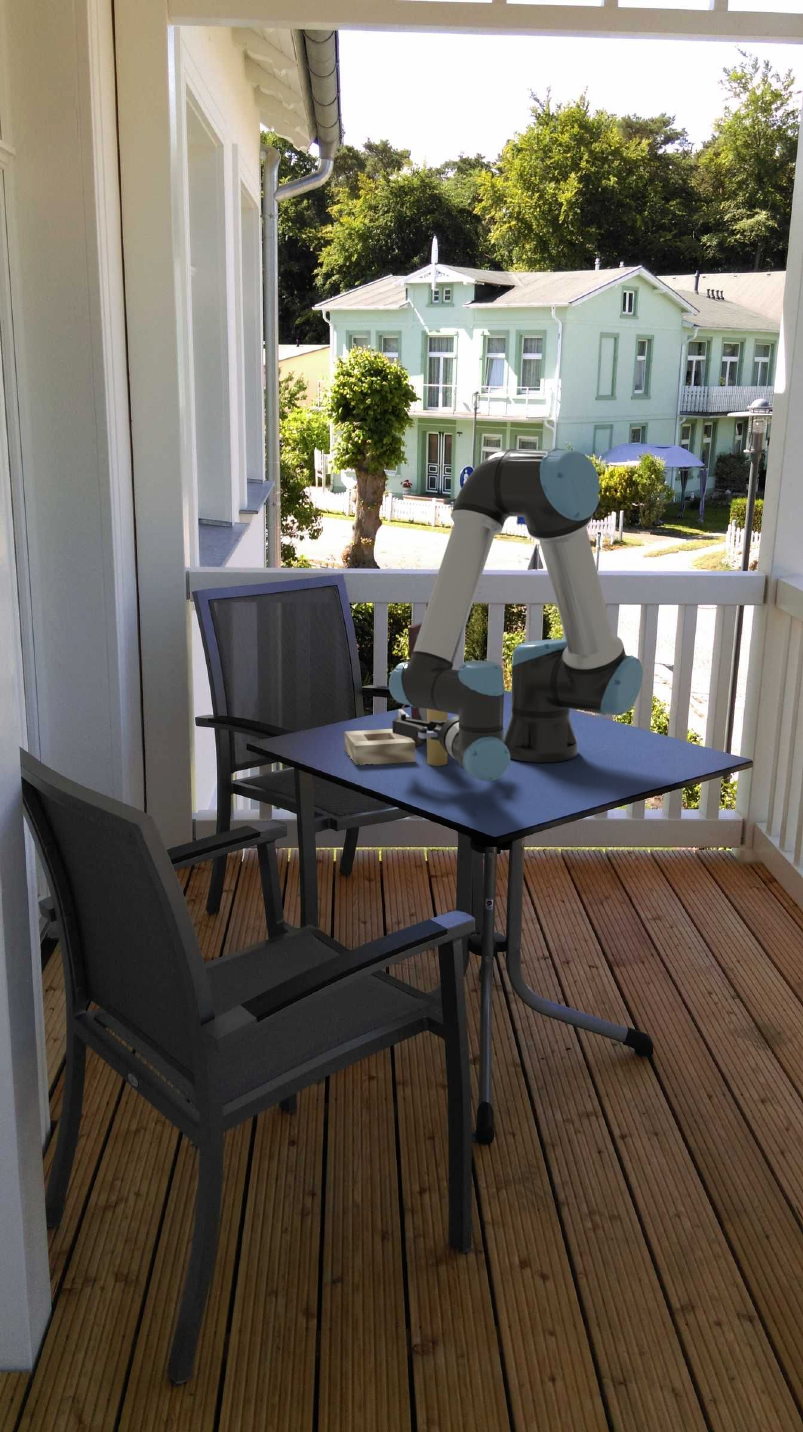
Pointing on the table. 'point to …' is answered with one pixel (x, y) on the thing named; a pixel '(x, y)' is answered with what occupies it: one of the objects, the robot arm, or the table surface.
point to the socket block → (379, 747)
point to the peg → (436, 741)
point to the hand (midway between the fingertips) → (433, 714)
